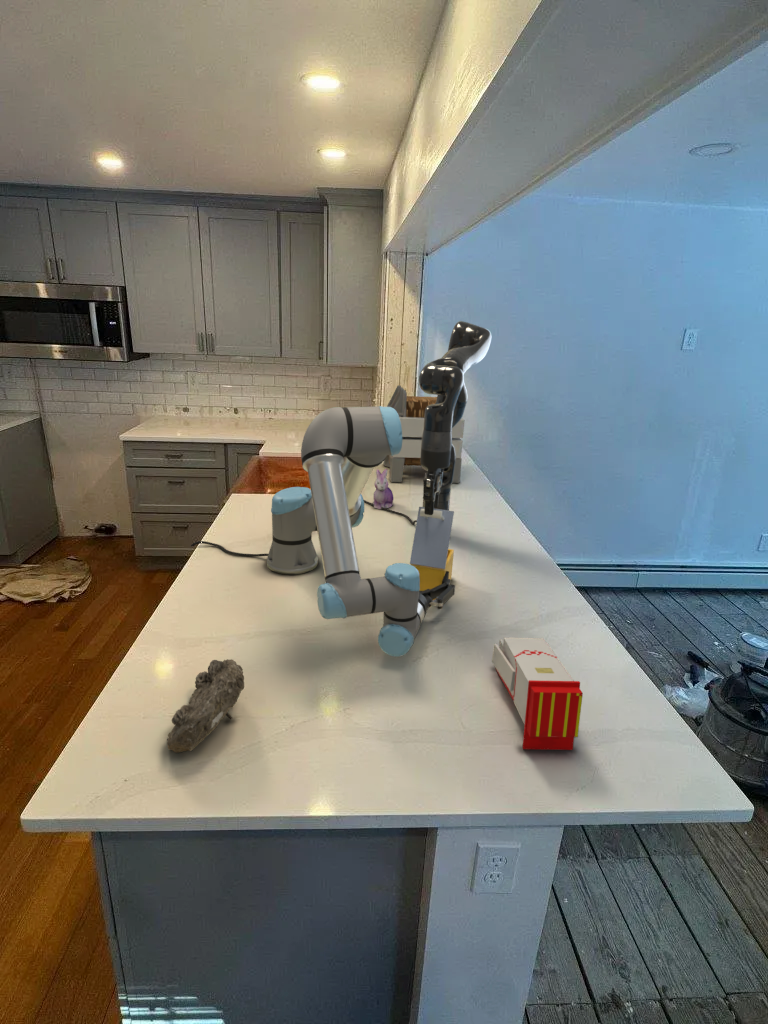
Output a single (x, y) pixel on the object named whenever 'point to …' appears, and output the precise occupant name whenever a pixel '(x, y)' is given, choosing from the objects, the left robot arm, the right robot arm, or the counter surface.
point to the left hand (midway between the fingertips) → (428, 572)
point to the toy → (540, 692)
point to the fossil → (206, 705)
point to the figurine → (382, 491)
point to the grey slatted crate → (417, 434)
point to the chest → (434, 573)
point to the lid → (432, 538)
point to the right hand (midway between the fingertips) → (431, 510)
